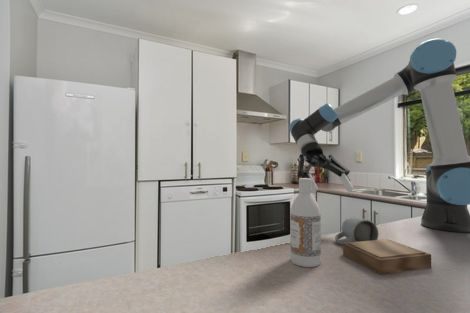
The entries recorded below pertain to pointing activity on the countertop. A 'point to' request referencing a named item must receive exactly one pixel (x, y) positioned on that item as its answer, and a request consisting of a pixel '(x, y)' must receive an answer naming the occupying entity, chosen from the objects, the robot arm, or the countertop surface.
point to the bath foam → (305, 227)
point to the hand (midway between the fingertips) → (333, 190)
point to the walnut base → (386, 256)
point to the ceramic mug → (357, 231)
